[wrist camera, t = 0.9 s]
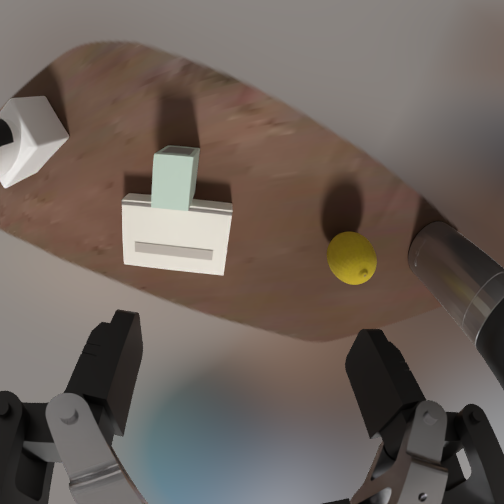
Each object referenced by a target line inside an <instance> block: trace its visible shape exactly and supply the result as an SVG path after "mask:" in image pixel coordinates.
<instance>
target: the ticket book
mask: <svg viewBox="0 0 504 504" xmlns="http://www.w3.org/2000/svg"><path fill="white" fill-rule="evenodd" d="M232 211H233V210H232V203H225V202H217V201H208V200H199V199H192V202H191V204H190V207H189V210H188V211H181V210H171V209H161V208H151V195H147V194H135V193H128V194H127V195H126V196H125V197H124V198H123V199H122V232H123V254H124V264H128V265H136V266H144V267H152V268H161V269H169V270H178V271H187V272H196V273H205V274H215V275H224V267H225V260H226V253H227V246H228V238H229V231H230V224H231V218H232Z"/></svg>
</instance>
